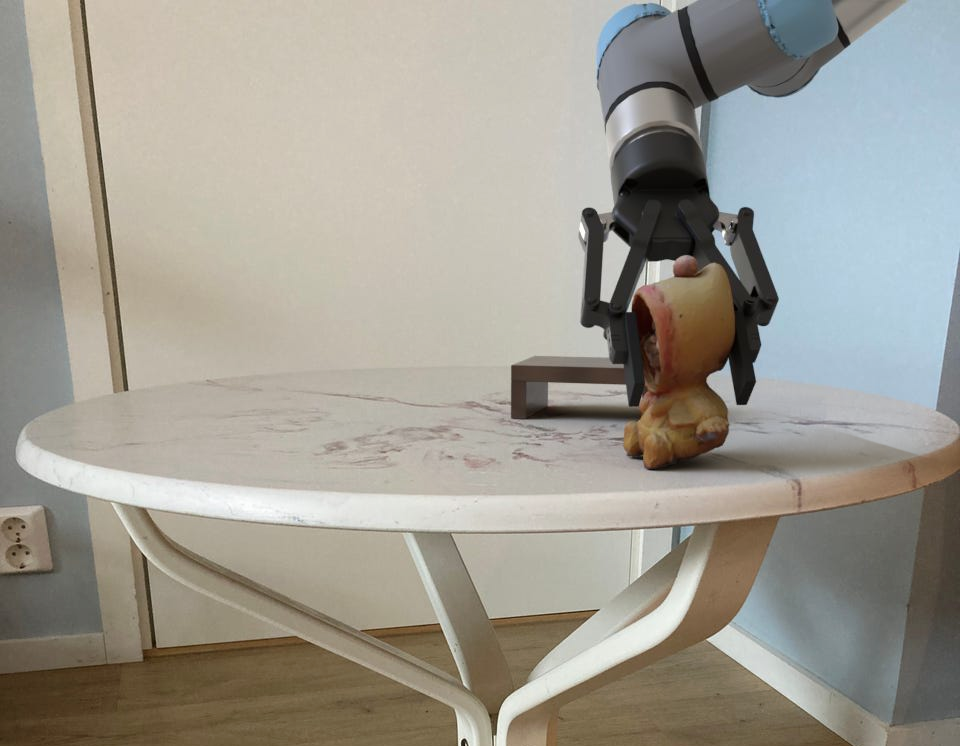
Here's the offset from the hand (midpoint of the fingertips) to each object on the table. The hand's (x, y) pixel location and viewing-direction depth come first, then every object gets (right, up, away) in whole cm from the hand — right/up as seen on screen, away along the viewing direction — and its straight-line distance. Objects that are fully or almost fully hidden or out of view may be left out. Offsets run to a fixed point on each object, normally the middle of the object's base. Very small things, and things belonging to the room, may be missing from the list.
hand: (691, 394), depth 80 cm
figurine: (0, -4, +5) cm, 7 cm away
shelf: (-4, +4, +28) cm, 29 cm away
